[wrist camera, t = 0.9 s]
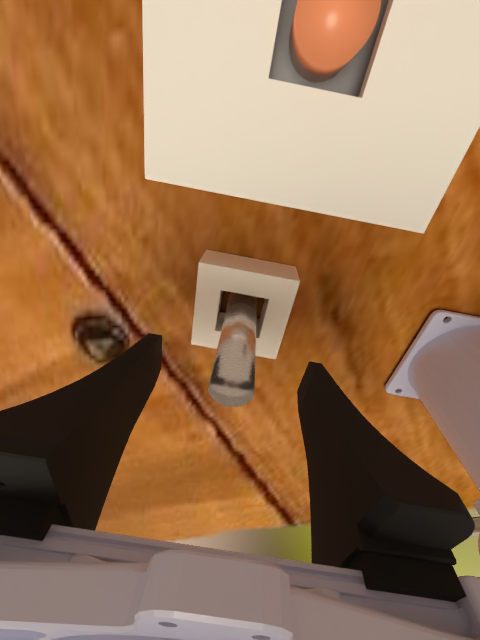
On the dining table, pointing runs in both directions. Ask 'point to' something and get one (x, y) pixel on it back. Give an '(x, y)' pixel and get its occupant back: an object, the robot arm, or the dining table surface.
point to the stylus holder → (245, 279)
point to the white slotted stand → (311, 110)
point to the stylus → (235, 353)
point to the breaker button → (326, 43)
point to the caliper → (476, 526)
